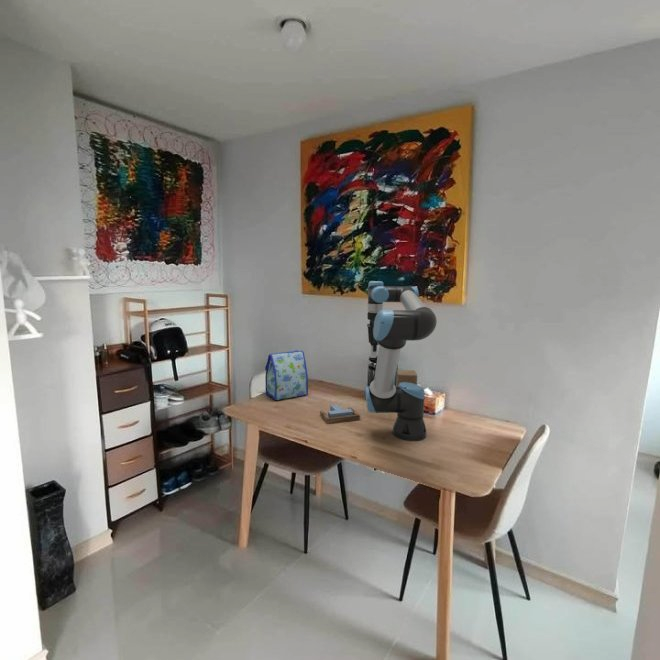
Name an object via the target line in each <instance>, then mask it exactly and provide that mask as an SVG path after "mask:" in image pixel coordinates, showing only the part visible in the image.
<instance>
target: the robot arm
mask: <svg viewBox="0 0 660 660" xmlns="http://www.w3.org/2000/svg"><path fill="white" fill-rule="evenodd" d="M367 285H368V287H367V289H368V290H367V294H368V295H367V311H368V312H367V313H366V315H367V320H368V321H369V323H367V324H366V326H367V333H368V335H367V336H368V343H370V358H371V359H372V358H373V359H375V358H377V360H376V366H375V371H374V379H373V380H372V381H371V382H370V385H369V386H366V387H365V388H364V389H365V400H366V409H367V412H369V413H370V414H371V413H374V414H385V413H386V414H390V413H391V414H392V413H393V414H394V413H395V414H396V413H397V417H396V419H395V421H394V424H393V426H392V435H394V436H395V438H399V439H401V440H403V441H410V442H411V441H421V440H423V439H425V438H426V437H427V428H426V424H425V420H424V411H425V399H426V397H425V389H424V388H423V387H422V386H420V385H419V384H417V385H416V384H413V383H408V382H402V383H399V385H398V387H396V384H395V378H396V376H397V370H398V369H397V368H398V365H399V364H398V363H399V359H400V354H401V350H402V349H403V348H404V347H405V346H406V343H407V341H421V340H424V339H427V338H428V337H429V336H431V335H432V334H433V333H434V331H435V329H436V327H437V316H436V314H435V312H434V311H433V310H432V309H431V308H429V307H426V306H425V304H424V302H422V301H421V300H420V298H419V297H420V293H419V288H418V287H416V286H411V285H409V286H393V285H391V286H390V285H388V286H387V285H384V282H383V281H381V280H380V281H379V280H377V281H376V280H371V281H369V282H368V284H367ZM383 303H400V304H401V305H402V306H403V308H404V310H403V309H401V310H400V309H396V310H395V309H393V310H392V309H383V307H384V304H383ZM377 346H378V347H377ZM377 349H378V351H377Z"/></svg>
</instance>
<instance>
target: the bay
mask: <svg viewBox="0 0 660 660" xmlns="http://www.w3.org/2000/svg"><path fill="white" fill-rule="evenodd" d="M347 409H351V410H352V411H353V415H348V416H339V417H331V418H329V417H328V413H326V412H325V411H324V410H319V415H320V416H319V417H321V419H322V420H323V421H324V422H325V423H326V424H327V425H329V424H339V423H345V422H346V423H347V422H354V421H355V422H356V421H360V420H361V419H360V418H361V417H360V416H361V415H360V414H359V413H358V412H357V411H356V410H355V409H354V408H353V407H347Z"/></svg>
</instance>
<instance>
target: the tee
mask: <svg viewBox="0 0 660 660" xmlns="http://www.w3.org/2000/svg"><path fill="white" fill-rule="evenodd" d="M348 415H353V411H352V410H351V409H348V408H345V409H343V408H342V407H341V406H340V405H339V404H337V403H335V404H330V407H329V410H328V411H327V416H328V417H329V418H331V417H339V416H348Z"/></svg>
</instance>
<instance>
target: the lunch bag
mask: <svg viewBox="0 0 660 660" xmlns="http://www.w3.org/2000/svg"><path fill="white" fill-rule="evenodd" d="M265 364H266V365H265V368H264V370H265V380H264V381H265V395H266V396H267V397H271V398H272V399H273V400H274V401H279V400H284V399H289V398H295V397H301V396H302V397H303V396H307V395H309V376H308V369H307V362H306V357H305V352H304V350H297V349H296V350H292V351H291V350H290V351H285V352H284V351H283V352H277V353H270V354H268V357H267V361H266V363H265Z"/></svg>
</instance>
